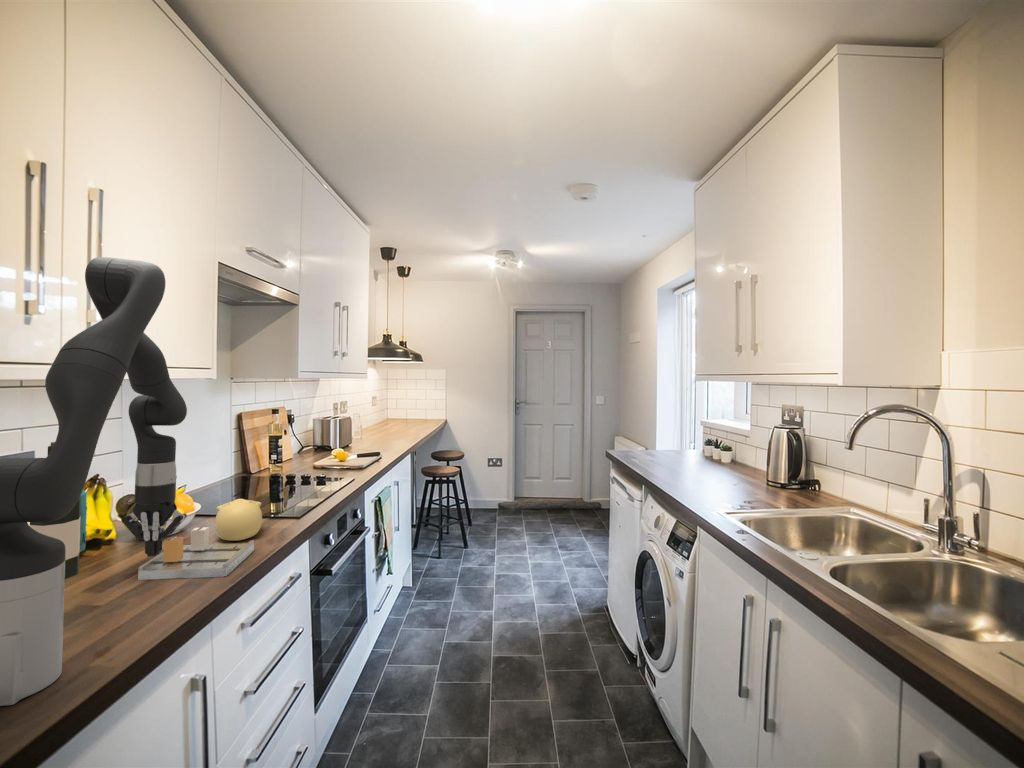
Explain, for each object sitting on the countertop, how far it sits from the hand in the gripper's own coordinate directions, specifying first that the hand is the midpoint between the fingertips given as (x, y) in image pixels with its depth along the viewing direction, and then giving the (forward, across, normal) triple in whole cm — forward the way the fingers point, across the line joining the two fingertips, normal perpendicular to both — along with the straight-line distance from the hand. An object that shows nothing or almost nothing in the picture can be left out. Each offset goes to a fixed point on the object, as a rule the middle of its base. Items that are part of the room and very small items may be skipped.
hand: (153, 555), depth 105 cm
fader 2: (+1, +6, +7) cm, 10 cm away
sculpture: (+4, +10, +22) cm, 25 cm away
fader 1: (+1, +4, 0) cm, 4 cm away
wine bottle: (+4, -20, 0) cm, 20 cm away
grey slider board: (+4, +8, +4) cm, 10 cm away
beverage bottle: (+4, -24, +11) cm, 27 cm away
